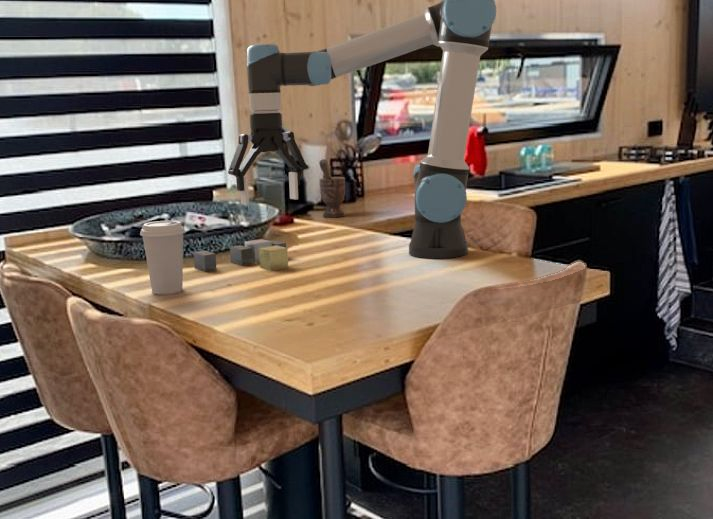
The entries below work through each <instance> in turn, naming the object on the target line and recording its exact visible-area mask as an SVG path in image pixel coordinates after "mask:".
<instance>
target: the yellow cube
mask: <svg viewBox="0 0 713 519" xmlns="http://www.w3.org/2000/svg"><path fill="white" fill-rule="evenodd" d="M288 256H289V255H288V248H287V247H286V248H285V247H281V246H277V245H276V246H269V247H263V248H259V257H260V263H259V269H262V270H267V271H269V272H271V271H277V270H283V269H288V268H289V257H288Z"/></svg>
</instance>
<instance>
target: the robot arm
mask: <svg viewBox="0 0 713 519" xmlns="http://www.w3.org/2000/svg"><path fill="white" fill-rule="evenodd" d="M496 16H497V4H496V1H495V0H442V1H440V2H438V3H436V4H434V5H432V6H429V7H427V8H425V10H424V12H423V13H422V14H419V15H415V16H413V17H411V18H408V19H405V20H402V21H399V22H396V23H393V24H391V25H389V26H386V27H383V28H379V29H377V30H374V31H371V32H368V33H366V34H363V35H360V36H357V37H354V38H351V39H350V40H347V41H343V42H340V43H337V44H335V45H332V46H329V47H326V48H324V49H321V50H317V51H304V52H303V51H302V52H300V51H299V52H280V49H279V45H277V44H272V43H271V44H270V43H269V44H265V43H264V44H260V43H259V44H252V45H249V47H247V50H246V72H247V74H246V75H247V84H248V86H247V88H248V105H249V111H250V112H251V113H250V114H249V125H250V134H245V133H240V134H239V135H238V144H237V147H236V150H235V152H234V154H233V158H232V160H231V162H230V165H229V167H228V171H227V173H228V175H230V176H233V177H235V181H236V190H237V191H238V192H239V195H240V196H239V197H240V205H243V206H250V197H249V195H250V194H249V177H248V176H246V174H247V172H248V171H249V169H250V168H251V166H252V165H253V164H254V162H255V160H256V159H257V157H258V155H260V154H261V153H269V152H270V153H271V152H275V153H276V154H278V155H279V157H280V158H281V159H282V161H283V162H284V163H285V164H286V165H287V167H288V168H289V170H291V171H289V172H288V184H289V185H288V186H289V199H290V200H295V201H296V200H299V188H298V187H299V186H300V184H301V173H302V172H303V170H304V169H307V167H308V166H307V163H306V161H305V160H304V157H303V155H302V153H301V150H300V149H299V147H298V144H297V142H296V139H295V133H294V131H288V130H286V131H285V132H283V130H282V128H283V114H282V113H281V112H280V111H281V110H282V96H281V95H282V93H281V92H282V91H281V86H282V87H283V86H284V87H286V86H287V87H288V86H309V87H316V86H321V85H323V86H324V85H328V84H330V83H331V80H333V79H336V78H339V77H342V76H345V75H348V74H351V73H354V72H356V71H359V70H362V69H365V68H368V67H371V66H374V65H377V64H379V63H382V62H385V61H388V60H391V59H394V58H397V57H400V56H402V55H406V54H409V53H411V52H413V51H417V50H419V49H420V50H421V49H422V48H425V47H428V46H431V45H434V46H436V47H440V49H441V50H442V57H441V63H440V68H439V69H440V70H439V77H438V84H437V89H436V90H437V92H436V98H435V104H434V111H433V118H432V125H431V131H430V138H429V145H428V150H427V155H426V156H425V157H424V158H422V159H421V160H420V161H419V163H418V164H416V165H415V166H414V168H413V180H414V181H413V184H414V186H413V187H414V222H415V223H414V226H413V230H412V234H411V239H410V242H409V243H408V254H409V255H410V256H412V257H417V258H421V259H422V258H424V259H448V258H450V259H451V258H457V257H463V256H465V255H467V254H469V244H468V241H467V239H466V238H467V237H466V235H465V232H464V228H463V226H462V219H461V215H462V213H463V211H464V209H465V208H466V204H467V199H468V197H467V195H468V194H467V185H468V179H469V178H468V177H469V171H470V167H469V165H468V164H467V162H466V161H465V156H466V148H467V144H468V143H467V142H468V138H469V130H470V126H471V125H470V123H471V118H472V111H473V105H474V104H473V103H474V98H475V90H476V85H477V81H478V80H477V79H478V73H479V67H480V66H479V65H480V59H481V56H482V55H483V54H484V53H486V52H487V51H488V50H489V45H490V40H491V39H490V38H491V33H492V27H493V25H494V23H495V22H494V21H495V20H496ZM283 140H284V141H285V143H286V146H287V148H288V150H289V152H290V153H289V152H288V151H287V149H286V147H285V146H284V144H282V141H283ZM250 142H251V143H252V145H251V146H250V148H249V150H248V153H247V154H246V152H247V149H248V146H249V145H248V144H250ZM245 154H246V156H245ZM244 156H245V157H244Z"/></svg>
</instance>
